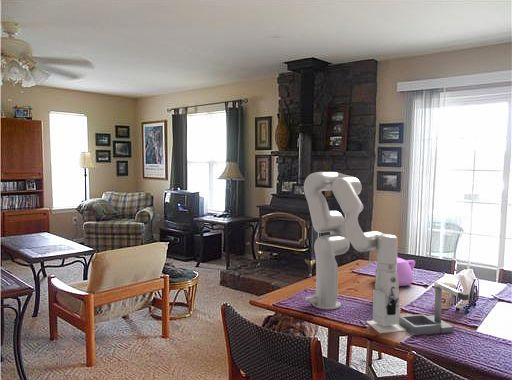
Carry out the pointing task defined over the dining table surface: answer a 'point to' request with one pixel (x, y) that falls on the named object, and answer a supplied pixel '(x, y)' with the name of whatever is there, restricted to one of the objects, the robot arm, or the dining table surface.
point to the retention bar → (452, 291)
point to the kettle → (404, 271)
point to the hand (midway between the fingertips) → (385, 310)
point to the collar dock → (427, 320)
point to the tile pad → (385, 329)
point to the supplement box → (383, 309)
